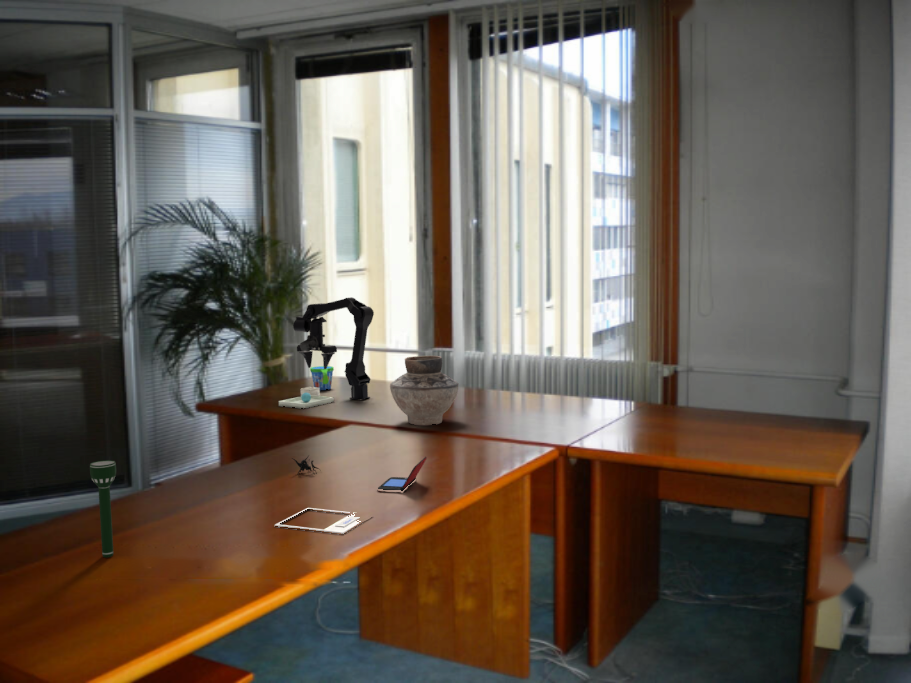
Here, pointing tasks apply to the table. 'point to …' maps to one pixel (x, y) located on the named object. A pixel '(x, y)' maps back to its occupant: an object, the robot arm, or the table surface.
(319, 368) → the snack cup
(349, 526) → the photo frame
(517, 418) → the table surface
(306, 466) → the creature
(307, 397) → the ball
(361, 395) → the robot arm
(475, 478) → the table surface
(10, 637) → the table surface
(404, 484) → the handheld game console
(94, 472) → the flashlight
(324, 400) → the tray
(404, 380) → the ceramic pot
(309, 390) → the cup
